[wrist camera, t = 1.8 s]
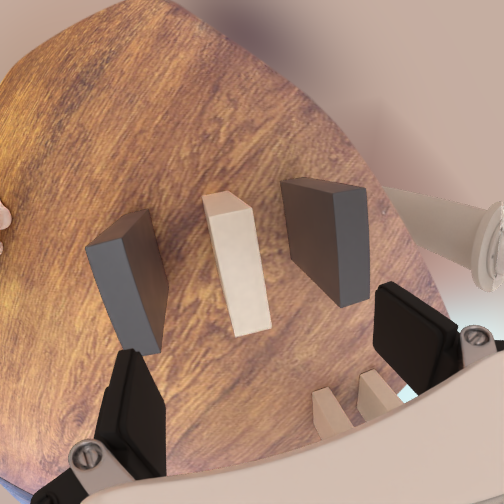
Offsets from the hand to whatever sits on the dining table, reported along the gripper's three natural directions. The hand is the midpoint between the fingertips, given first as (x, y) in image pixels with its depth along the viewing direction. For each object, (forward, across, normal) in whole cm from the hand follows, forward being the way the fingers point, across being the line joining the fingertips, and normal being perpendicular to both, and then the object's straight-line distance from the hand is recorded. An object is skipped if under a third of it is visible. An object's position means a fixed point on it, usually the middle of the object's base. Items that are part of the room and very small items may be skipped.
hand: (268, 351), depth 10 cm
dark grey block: (+18, -8, 0) cm, 20 cm away
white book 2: (+18, -9, +28) cm, 35 cm away
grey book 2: (+18, +7, 0) cm, 20 cm away
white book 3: (+18, -16, +28) cm, 37 cm away
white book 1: (+18, 0, 0) cm, 18 cm away
